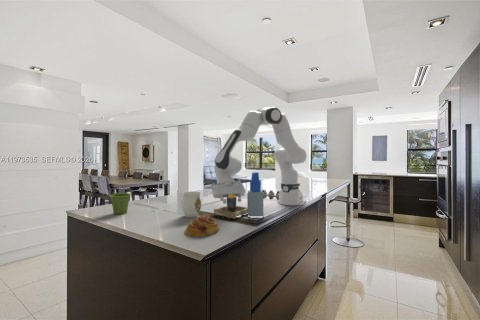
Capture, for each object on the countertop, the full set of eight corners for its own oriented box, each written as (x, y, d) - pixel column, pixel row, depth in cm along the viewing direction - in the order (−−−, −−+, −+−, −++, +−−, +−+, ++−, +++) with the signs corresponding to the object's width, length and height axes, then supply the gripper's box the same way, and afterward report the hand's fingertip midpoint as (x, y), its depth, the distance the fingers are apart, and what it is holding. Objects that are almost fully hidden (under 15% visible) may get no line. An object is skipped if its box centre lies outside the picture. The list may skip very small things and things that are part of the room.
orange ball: (230, 199, 144) (230, 192, 143) (236, 200, 141) (236, 193, 141) (226, 200, 141) (226, 194, 140) (231, 202, 138) (231, 195, 138)
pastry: (223, 231, 113) (223, 214, 113) (197, 239, 102) (197, 220, 102) (205, 225, 122) (205, 209, 122) (180, 232, 111) (179, 215, 111)
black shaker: (230, 211, 145) (230, 196, 145) (238, 212, 142) (238, 197, 142) (224, 213, 141) (224, 197, 140) (232, 214, 137) (232, 198, 137)
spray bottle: (262, 214, 141) (262, 171, 140) (264, 219, 132) (263, 173, 131) (247, 214, 141) (247, 171, 140) (247, 219, 132) (247, 173, 131)
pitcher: (207, 212, 147) (207, 189, 147) (193, 220, 130) (193, 194, 129) (191, 211, 150) (191, 189, 150) (175, 218, 133) (175, 193, 133)
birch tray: (230, 210, 152) (230, 204, 152) (250, 213, 143) (250, 207, 143) (214, 215, 140) (213, 209, 140) (234, 219, 131) (234, 213, 131)
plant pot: (117, 216, 138) (116, 197, 138) (105, 214, 144) (104, 195, 144) (135, 212, 148) (135, 194, 148) (124, 210, 154) (123, 192, 154)
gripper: (211, 181, 143) (217, 200, 134) (242, 179, 151) (249, 197, 143) (208, 187, 147) (214, 206, 138) (239, 185, 156) (246, 203, 147)
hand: (232, 202), depth 141 cm, fingers open, 8 cm apart
